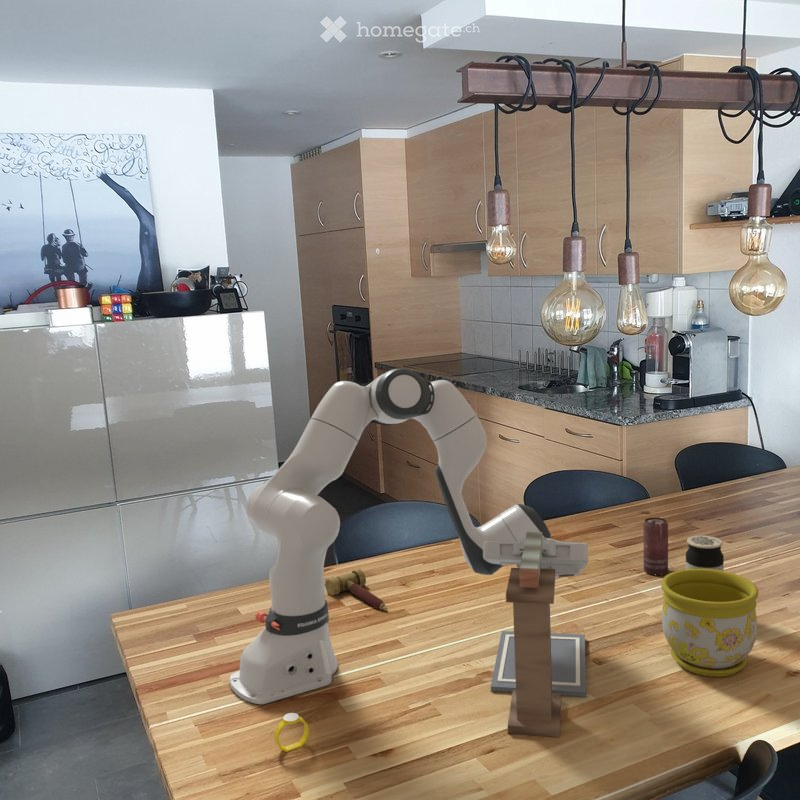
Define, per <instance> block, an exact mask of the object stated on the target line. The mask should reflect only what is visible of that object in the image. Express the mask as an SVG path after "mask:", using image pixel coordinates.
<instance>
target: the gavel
mask: <svg viewBox="0 0 800 800" xmlns="http://www.w3.org/2000/svg"><path fill="white" fill-rule="evenodd" d="M366 584H367V578H366V575H365V572H364V571H363V570H362V568H361V569H360V568H358V569H355V570H352V571H351V572H349V573H346V574H342V575H340V576H333V577H329V578H326V580H324V589H325V590H326V593H327V594H328V595H329V594H330V596H332V597H333V596H337V595H339V594H340V593H342V592H346V591H350V592H351V593H352V594H353V595H354V596H356V597H358V598H359V599H360V600H362V601H364V602H365V603H366V604H368V605H370V606H371V607H372V606H373V608H374V609H375V608H376V609H375V610H380V611H384V612H385V611H387V610H388V607H387V606H386V604H385V602H384V601H383V600H382V599H381V598H379V597H378V596H376V595H375V594H374V593H372V592H370V591H369V590H367V589H365V588H364V587H365V585H366Z"/></svg>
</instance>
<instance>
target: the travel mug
mask: <svg viewBox="0 0 800 800" xmlns="http://www.w3.org/2000/svg"><path fill="white" fill-rule="evenodd" d="M686 543H687V545H688V549H687V550H686V552H685V570H686V569H713V570H720V571H725V570H724V566H725V565H724V563H725V562H724V561H725V559H724V557H725V556H724V554H723V552H722V551H721V548H722V546H723V543H724V542H723V540H721V539H720V538H718V537H715V536H710V535H693V536H690V537H688V538H687V540H686Z"/></svg>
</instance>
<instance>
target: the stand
mask: <svg viewBox="0 0 800 800" xmlns="http://www.w3.org/2000/svg"><path fill="white" fill-rule="evenodd" d="M519 569H520V568H517V567H511V568H510V572H509V578H508V581H507V586H506V591H505V603H512V608H513V610H512V611H513V616H512V617H513V631H514V645H515V675H516V690H513V692H511V700H510V707H509V713H508V714H509V715H508V722H507V734H510V735H512V734H513V735H524V736H526V735H527V736H536V737H537V736H539V737H554V738H561V721H562V720H561V717H562V716H561V715H562V696H561V693H552V665H551V633H552V632H551V605H554V604H555V592H556V591H555V590H556V589H555V588H556V580H555V569H540V575H539V588H532V587H520V581H519Z"/></svg>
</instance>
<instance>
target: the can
mask: <svg viewBox="0 0 800 800" xmlns="http://www.w3.org/2000/svg"><path fill="white" fill-rule="evenodd" d="M643 570H644V572H645V573H646V572H647V573H649V574H648V575H650V574H653V575H652V576H655V574H656V575H661V574H665V573H666V574H667V573H668V572H669V523H668V521H667V519H665V518H663V517H662V518H661V517H648V518H645V519H644V521H643ZM647 573H646V574H647ZM666 574H665V575H666ZM661 576H662V575H661Z"/></svg>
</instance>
